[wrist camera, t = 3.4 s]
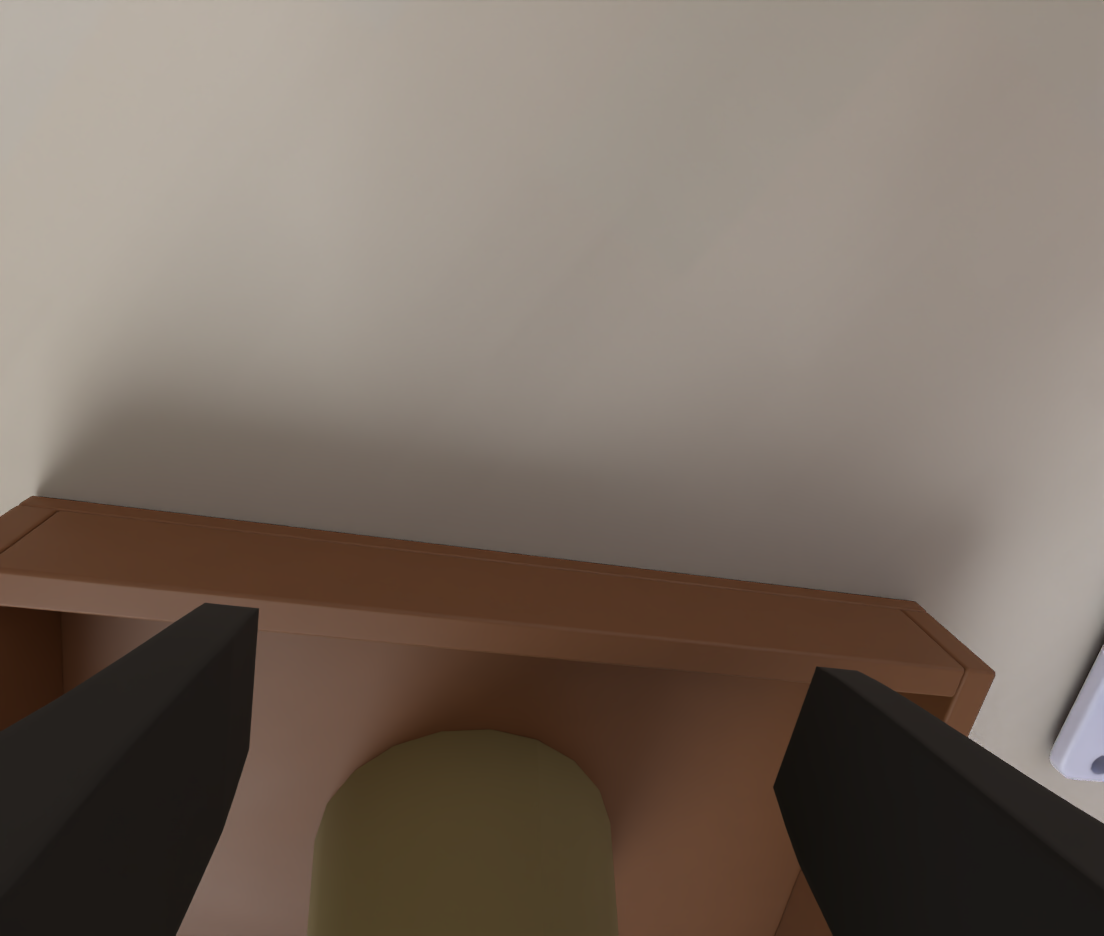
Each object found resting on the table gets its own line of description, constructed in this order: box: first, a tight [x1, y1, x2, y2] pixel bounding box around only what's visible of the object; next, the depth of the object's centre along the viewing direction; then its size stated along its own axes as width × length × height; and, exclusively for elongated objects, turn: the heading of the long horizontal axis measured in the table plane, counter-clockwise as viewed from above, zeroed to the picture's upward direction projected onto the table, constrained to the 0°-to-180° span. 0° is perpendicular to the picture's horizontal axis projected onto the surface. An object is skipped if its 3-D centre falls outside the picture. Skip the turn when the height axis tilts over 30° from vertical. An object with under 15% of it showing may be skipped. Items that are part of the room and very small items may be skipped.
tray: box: [0, 496, 995, 936], centre depth 14 cm, size 16×13×2 cm
